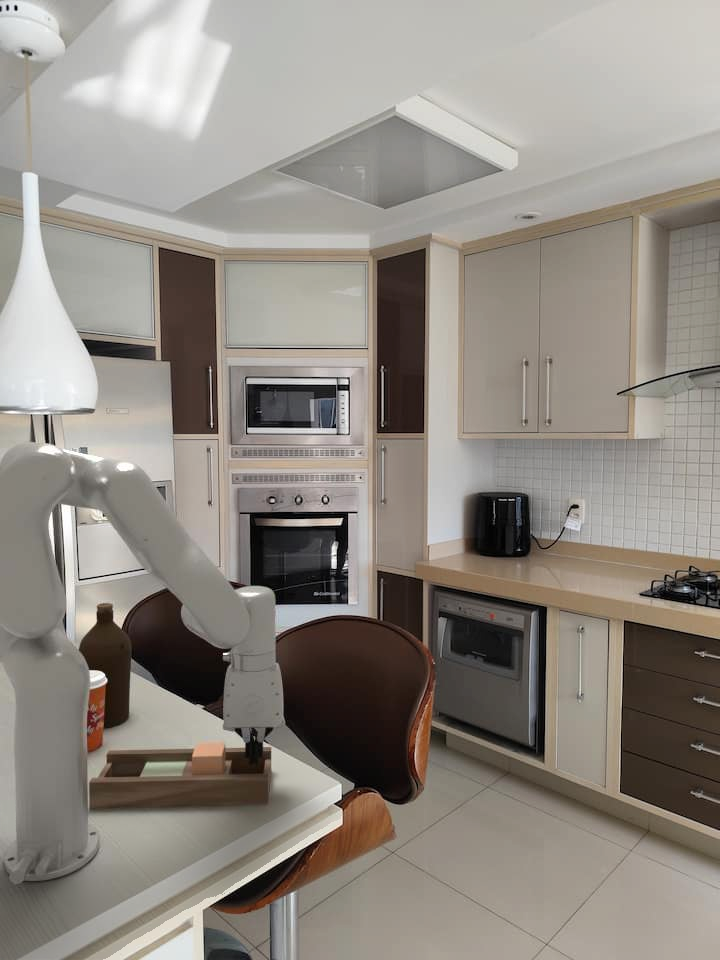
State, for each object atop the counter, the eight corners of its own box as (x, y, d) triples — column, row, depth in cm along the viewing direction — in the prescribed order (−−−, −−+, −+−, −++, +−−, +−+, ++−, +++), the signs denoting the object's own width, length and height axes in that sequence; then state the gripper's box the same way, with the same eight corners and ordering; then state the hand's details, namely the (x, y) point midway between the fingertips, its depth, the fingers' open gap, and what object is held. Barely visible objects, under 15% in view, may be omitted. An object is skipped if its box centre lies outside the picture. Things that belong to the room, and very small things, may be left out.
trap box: (267, 804, 111) (267, 778, 111) (89, 809, 109) (89, 782, 108) (271, 770, 122) (271, 747, 122) (109, 774, 120) (109, 750, 119)
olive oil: (137, 708, 148) (137, 598, 146) (124, 730, 137) (123, 611, 136) (88, 709, 147) (87, 598, 145) (71, 730, 137) (69, 611, 135)
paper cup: (93, 757, 126) (92, 685, 125) (57, 752, 127) (56, 681, 126) (116, 738, 133) (115, 670, 132) (82, 734, 135) (81, 667, 134)
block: (221, 778, 113) (221, 756, 113) (191, 779, 113) (191, 756, 112) (225, 764, 118) (225, 742, 118) (196, 764, 118) (196, 742, 117)
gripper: (206, 667, 110) (207, 773, 112) (296, 665, 111) (296, 770, 113) (212, 652, 118) (214, 752, 119) (297, 650, 119) (297, 749, 120)
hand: (254, 760), depth 116 cm, fingers closed
